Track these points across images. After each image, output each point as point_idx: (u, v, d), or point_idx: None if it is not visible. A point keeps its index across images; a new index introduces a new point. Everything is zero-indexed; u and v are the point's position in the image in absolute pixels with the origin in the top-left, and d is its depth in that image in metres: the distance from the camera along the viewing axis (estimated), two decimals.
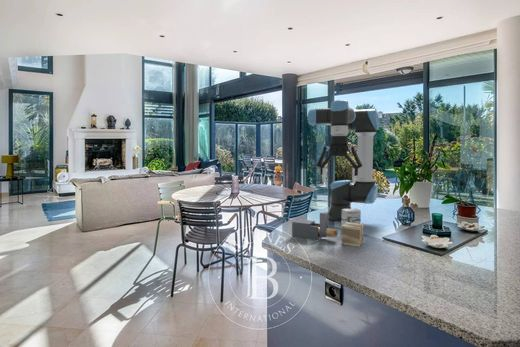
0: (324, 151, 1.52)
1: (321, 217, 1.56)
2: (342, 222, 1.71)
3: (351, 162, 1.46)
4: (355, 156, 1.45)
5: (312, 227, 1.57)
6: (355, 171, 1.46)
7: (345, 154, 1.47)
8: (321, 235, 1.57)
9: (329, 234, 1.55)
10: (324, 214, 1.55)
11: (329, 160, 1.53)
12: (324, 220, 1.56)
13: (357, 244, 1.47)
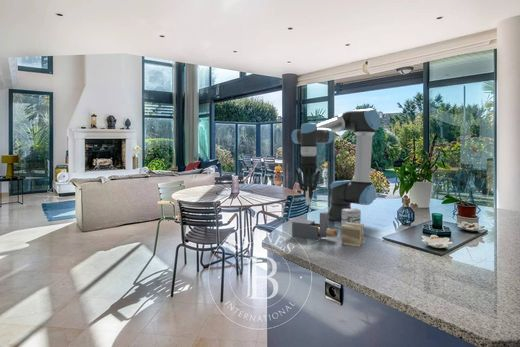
0: (298, 174, 1.61)
1: (321, 217, 1.56)
2: (342, 222, 1.71)
3: (309, 184, 1.59)
4: (315, 179, 1.57)
5: (312, 227, 1.57)
6: (309, 193, 1.59)
7: (310, 175, 1.58)
8: (321, 235, 1.57)
9: (329, 234, 1.55)
10: (324, 214, 1.55)
11: (307, 181, 1.61)
12: (324, 220, 1.56)
13: (357, 244, 1.47)
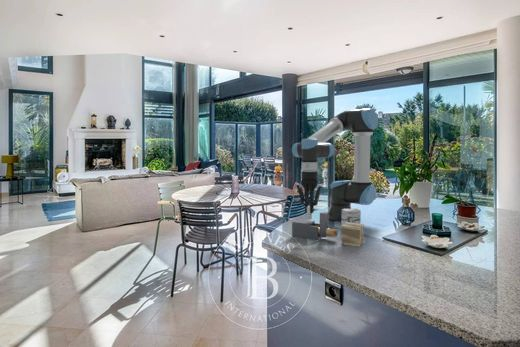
0: (299, 189, 1.62)
1: (321, 217, 1.56)
2: (342, 222, 1.71)
3: (310, 199, 1.59)
4: (316, 195, 1.57)
5: (312, 227, 1.57)
6: (310, 208, 1.60)
7: (311, 190, 1.58)
8: (321, 235, 1.57)
9: (329, 234, 1.55)
10: (324, 214, 1.55)
11: (308, 196, 1.62)
12: (324, 220, 1.56)
13: (357, 244, 1.47)
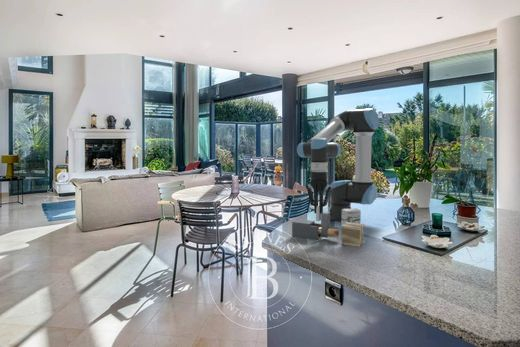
0: (308, 189, 1.59)
1: (322, 217, 1.56)
2: (342, 222, 1.71)
3: (320, 200, 1.57)
4: (326, 195, 1.55)
5: (312, 227, 1.57)
6: (320, 209, 1.58)
7: (320, 191, 1.56)
8: (322, 235, 1.57)
9: (330, 234, 1.55)
10: (325, 214, 1.55)
11: (317, 196, 1.59)
12: (326, 220, 1.55)
13: (357, 244, 1.47)
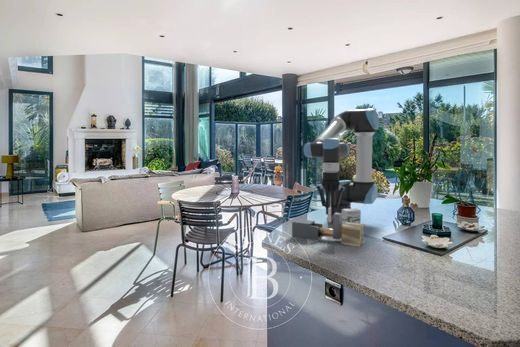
0: (320, 190, 1.56)
1: (335, 218, 1.53)
2: (342, 222, 1.71)
3: (332, 201, 1.54)
4: (338, 196, 1.52)
5: (312, 227, 1.57)
6: (332, 210, 1.55)
7: (332, 192, 1.53)
8: (334, 237, 1.54)
9: None
10: (338, 215, 1.52)
11: (329, 197, 1.57)
12: (338, 222, 1.52)
13: (357, 244, 1.47)
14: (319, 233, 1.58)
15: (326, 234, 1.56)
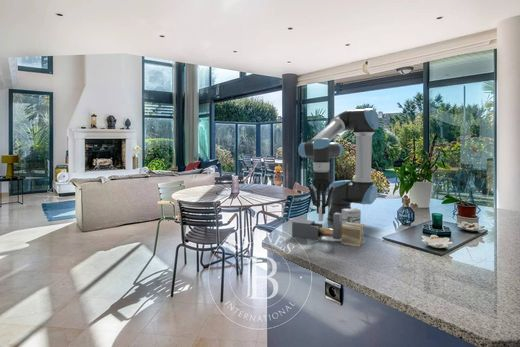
0: (310, 189, 1.59)
1: (335, 218, 1.53)
2: (342, 222, 1.71)
3: (322, 200, 1.56)
4: (329, 196, 1.55)
5: (312, 227, 1.57)
6: (322, 209, 1.57)
7: (323, 191, 1.55)
8: (335, 237, 1.54)
9: None
10: (338, 215, 1.52)
11: (320, 196, 1.59)
12: (338, 222, 1.52)
13: (357, 244, 1.47)
14: (319, 233, 1.58)
15: (326, 234, 1.56)
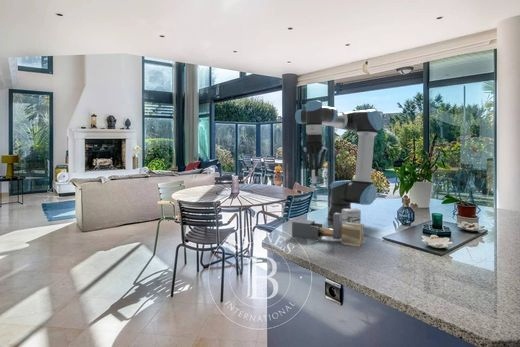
0: (303, 152, 1.60)
1: (335, 218, 1.53)
2: (342, 222, 1.71)
3: (315, 162, 1.58)
4: (322, 158, 1.57)
5: (312, 227, 1.57)
6: (315, 172, 1.59)
7: (316, 153, 1.57)
8: (335, 237, 1.54)
9: None
10: (338, 215, 1.52)
11: (313, 159, 1.61)
12: (338, 222, 1.52)
13: (357, 244, 1.47)
14: (319, 233, 1.58)
15: (326, 234, 1.56)
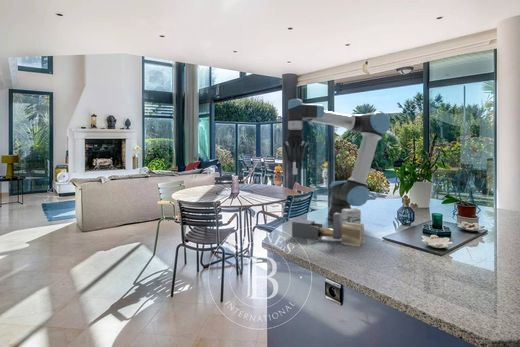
0: (286, 146, 1.76)
1: (335, 218, 1.53)
2: (342, 222, 1.71)
3: (296, 155, 1.74)
4: (301, 151, 1.72)
5: (312, 227, 1.57)
6: (296, 164, 1.75)
7: (296, 147, 1.73)
8: (335, 237, 1.54)
9: None
10: (338, 215, 1.52)
11: (294, 152, 1.76)
12: (338, 222, 1.52)
13: (357, 244, 1.47)
14: (319, 233, 1.58)
15: (326, 234, 1.56)
